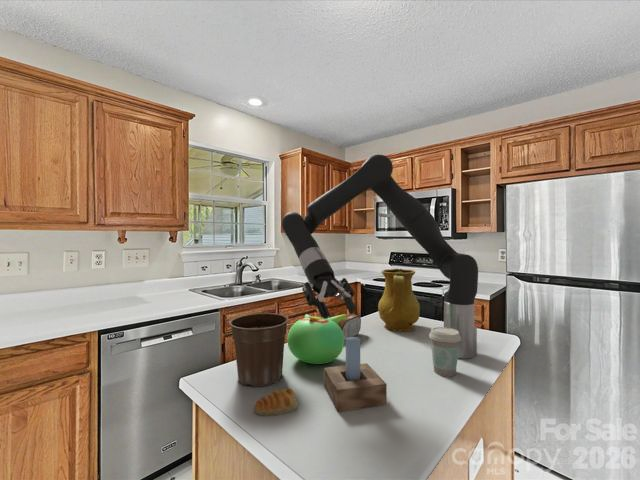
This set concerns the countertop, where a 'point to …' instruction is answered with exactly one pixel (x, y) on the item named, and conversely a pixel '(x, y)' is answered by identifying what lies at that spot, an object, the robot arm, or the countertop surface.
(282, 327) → the plant pot
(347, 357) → the dowel
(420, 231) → the robot arm
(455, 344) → the coffee cup
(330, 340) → the green round piece
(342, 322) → the tin
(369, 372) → the socket block
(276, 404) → the pastry
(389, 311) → the pitcher
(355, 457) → the countertop surface
